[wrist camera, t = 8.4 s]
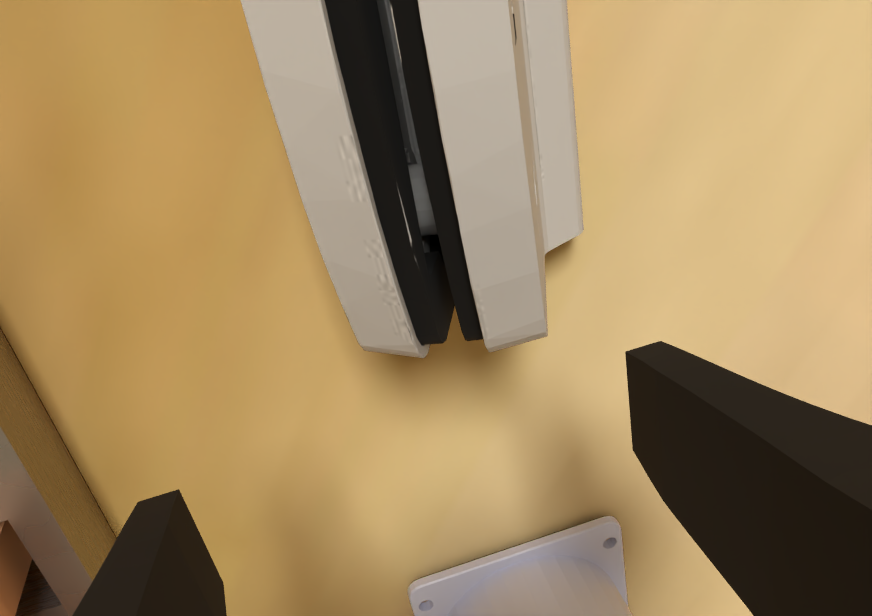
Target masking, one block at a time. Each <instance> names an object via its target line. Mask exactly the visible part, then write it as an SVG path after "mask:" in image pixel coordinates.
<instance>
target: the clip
mask: <svg viewBox="0 0 872 616" xmlns="http://www.w3.org/2000/svg"><path fill="white" fill-rule="evenodd" d="M31 561H32V557H31V556H30V554H29V552H28V551H27V549H26V548H25V546H24V545H23V543H22V541H21V540H20V538H19V537H18V535H17V534H16V532H15V531H14V529H13V527H12V526H11V524H10V523H9V521H8V520H6V521H3V522H0V616H15V614H16V611H17V608H18V604H19V601H20V598H21V594H22V591H23V588H24V584H25V581H26V578H27V574H28V571H29V568H30V564H31Z"/></svg>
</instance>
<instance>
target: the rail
mask: <svg viewBox="0 0 872 616" xmlns="http://www.w3.org/2000/svg"><path fill="white" fill-rule="evenodd" d="M6 520H8V521H9V523H10V524H11V526H12V527H13V529H14V531H15V532H16V534H17V535H18V537H19V538H20V540H21V541H22V543H23V545H24V546H25V548H26V549H27V551H28V552H29V554H30V556H31V557H32V561H31V564H30V568H29V571H28V574H27V578H26V581H25V584H24V588H23V591H22V594H21V598H20V601H19V604H18V608H17V611H16V614H15V616H72V615H73V613H74V612H75V610H76V608H77V607H78V605H79V603H80V602H81V600H82V598H83V597H84V595H85V593H86V592H87V590H88V588H89V586H90V585H91V583H92V581H93V580H94V578H95V576H96V574H97V573H98V571H99V569H100V567H101V566H102V564H103V562H104V560H105V559H106V557H107V555H108V553H109V552H110V550H111V548H112V546H113V544H114V543H115V541H116V537H115V535H114V534H113V532H112V530H111V528H110V526H109V524H108V523H107V521H106V519H105V517H104V515H103V514H102V512H101V510H100V508H99V506H98V504H97V503H96V501H95V499H94V497H93V495H92V494H91V492H90V490H89V488H88V486H87V485H86V483H85V481H84V479H83V477H82V475H81V474H80V472H79V470H78V468H77V466H76V465H75V463H74V461H73V459H72V457H71V456H70V454H69V452H68V450H67V448H66V446H65V445H64V443H63V441H62V439H61V437H60V436H59V434H58V432H57V430H56V428H55V427H54V425H53V423H52V421H51V419H50V417H49V416H48V414H47V412H46V410H45V408H44V407H43V405H42V403H41V401H40V399H39V398H38V396H37V394H36V392H35V390H34V388H33V387H32V385H31V383H30V381H29V379H28V378H27V376H26V374H25V372H24V370H23V369H22V367H21V365H20V363H19V361H18V359H17V358H16V356H15V354H14V352H13V350H12V349H11V347H10V345H9V343H8V341H7V339H6V338H5V336H4V334H3V332H2V330H1V329H0V522H3V521H6Z"/></svg>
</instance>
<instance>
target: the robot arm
mask: <svg viewBox="0 0 872 616" xmlns="http://www.w3.org/2000/svg"><path fill="white" fill-rule="evenodd" d="M626 366H627V379H628V392H629V405H630V419H631V432H632V445H633V451H634V452H635V454H636V456H637V458H638V459H639V461H640V463H641V465H642V466H643V468H644V470H645V472H646V473H647V475H648V477H649V478H650V480H651V482H652V483H653V485H654V487H655V488H656V490H657V491H658V493H659V495H660V496H661V498H662V499H663V501H664V502H665V504H666V505H667V506H668V508H669V509H670V510H671V511H672V513H673V514H674V515H675V517H676V518H677V519H678V520H679V522H680V523H681V524H682V526H683V527H684V528H685V529H686V531H687V532H688V533H689V535H690V536H691V537H692V538H693V540H694V541H695V542H696V543H697V545H698V546H699V547H700V548H701V550H702V551H703V552H704V553H705V555H706V556H707V557H708V558H709V560H710V561H711V562H712V563H713V565H714V566H715V567H716V569H717V570H718V571H719V572H720V574H721V575H722V576H723V577H724V579H725V580H726V581H727V582H728V584H729V585H730V586H731V587H732V589H733V590H734V591H735V592H736V594H737V595H738V596H739V597H740V599H741V600H742V601H743V602H744V604H745V605H746V606H747V607H748V609H749V610H750V611H751V613H752V614H753V615H754V616H872V425H869V424H866V423H862V422H859V421H856V420H853V419H850V418H847V417H845V416H842V415H839V414H836V413H834V412H831V411H828V410H825V409H823V408H820V407H817V406H814V405H811V404H809V403H806V402H804V401H801V400H798V399H796V398H793V397H791V396H788V395H786V394H783V393H781V392H778V391H776V390H773V389H771V388H769V387H766V386H764V385H761V384H759V383H757V382H754V381H752V380H750V379H747V378H745V377H743V376H740V375H738V374H736V373H734V372H731V371H729V370H727V369H724V368H722V367H720V366H718V365H715V364H713V363H711V362H709V361H706V360H704V359H702V358H700V357H697V356H695V355H693V354H691V353H688V352H686V351H684V350H681V349H679V348H677V347H674V346H672V345H669V344H667V343H664V342H662V341H659V342H656V343H652V344H649V345H646V346H643V347H639V348H636V349H633V350H630V351H626ZM608 538H609V539H608ZM606 539H608V540H606ZM605 540H606V541H605ZM408 597H409V600H410V604H411V607H412V610H413V614H414V616H633V615H632V613H631V611H630V610H629V608H628V599H627V588H626V577H625V566H624V555H623V544H622V533H621V527H620V524H619V523H618V521H617V520H616V519H615V518H614V517H612V516H605V517H601V518H598V519H595V520H592V521H589V522H586V523H583V524H580V525H577V526H574V527H571V528H568V529H566V530H563V531H560V532H557V533H554V534H551V535H548V536H545V537H542V538H539V539H536V540H533V541H530V542H527V543H524V544H521V545H518V546H515V547H512V548H509V549H506V550H503V551H500V552H497V553H494V554H491V555H488V556H485V557H482V558H479V559H476V560H473V561H470V562H467V563H464V564H461V565H458V566H456V567H453V568H450V569H447V570H444V571H441V572H438V573H435V574H432V575H429V576H426V577H423V578H420V579H417V580H415V581H413V582H412V583H411V584H410V585H409V587H408ZM426 600H428V601H426ZM423 601H426V602H423ZM422 602H423V603H422ZM72 616H227V615H226V605H225V595H224V585H223V581H222V579H221V577H220V575H219V573H218V571H217V569H216V567H215V565H214V562H213V560H212V558H211V556H210V554H209V552H208V550H207V548H206V546H205V543H204V541H203V539H202V537H201V535H200V533H199V531H198V529H197V527H196V524H195V522H194V520H193V518H192V516H191V514H190V512H189V510H188V508H187V505H186V503H185V501H184V499H183V497H182V495H181V493H180V491H179V490H175V491H172V492H169V493H166V494H162V495H159V496H156V497H153V498H149V499H146V500H143V501H140V502H138V503H137V505H136V506H135V508H134V510H133V511H132V513H131V515H130V516H129V518H128V520H127V521H126V523H125V525H124V527H123V528H122V530H121V532H120V534H119V536H118V537H117V539H116V541H115V543H114V544H113V546H112V548H111V550H110V552H109V553H108V555H107V557H106V559H105V560H104V562H103V564H102V566H101V567H100V569H99V571H98V573H97V574H96V576H95V578H94V580H93V581H92V583H91V585H90V586H89V588H88V590H87V592H86V593H85V595H84V597H83V598H82V600H81V602H80V603H79V605H78V607H77V608H76V610H75V612H74V613H73V615H72Z"/></svg>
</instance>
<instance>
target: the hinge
mask: <svg viewBox="0 0 872 616" xmlns="http://www.w3.org/2000/svg"><path fill="white" fill-rule="evenodd" d="M241 3H242V7H243V10H244V14H245V17H246V21H247V24H248V28H249V32H250V35H251V39H252V42H253V46H254V49H255V53H256V56H257V60H258V63H259V67H260V70H261V74H262V77H263V81H264V84H265V88H266V91H267V94H268V97H269V100H270V103H271V106H272V109H273V112H274V116H275V119H276V122H277V125H278V128H279V131H280V134H281V137H282V140H283V143H284V147H285V150H286V153H287V156H288V159H289V162H290V165H291V168H292V171H293V174H294V178H295V181H296V184H297V187H298V190H299V193H300V196H301V199H302V202H303V205H304V208H305V211H306V213H307V216H308V219H309V222H310V224H311V227H312V230H313V233H314V236H315V238H316V241H317V244H318V247H319V249H320V252H321V255H322V258H323V260H324V263H325V265H326V268H327V270H328V273H329V275H330V277H331V280H332V282H333V285H334V287H335V290H336V292H337V295H338V297H339V299H340V302H341V304H342V307H343V309H344V311H345V314H346V316H347V318H348V320H349V323H350V325H351V327H352V329H353V332H354V334H355V336H356V338H357V341H358V343H359V344H360V346H361V347H362V348H363V349H364V350H366V351H371V352H379V353H387V354H395V355H403V356H410V357H418V358H424V357H426V355H427V354H428V351H429V348H430V344H439V343H444V342H445V341H446V339H447V335H448V330H449V326H450V322H451V318H452V314H453V310H454V306H455V308H456V311H457V315H458V319H459V323H460V326H461V330H462V333H463V335H464V338H465V340H467V341H471V340H480V339H484V344H485V347H486V348H487V350H488V351H489V352H493V351H497V350H500V349H504V348H508V347H511V346H515V345H518V344H522V343H525V342H529V341H532V340H536V339H540V338H543V337H547V335H548V329H547V305H546V281H545V254H546V253H547V252H549V251H550V250H552V249H554V248H556V247H558V246H559V245H561V244H563V243H565V242H567V241H569V240H570V239H572V238H574V237H576V236H578V235H580V234H581V233H582V232H583V230H584V227H583V213H582V200H581V186H580V173H579V160H578V146H577V133H576V119H575V106H574V92H573V79H572V66H571V52H570V39H569V25H568V12H567V0H241Z"/></svg>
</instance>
